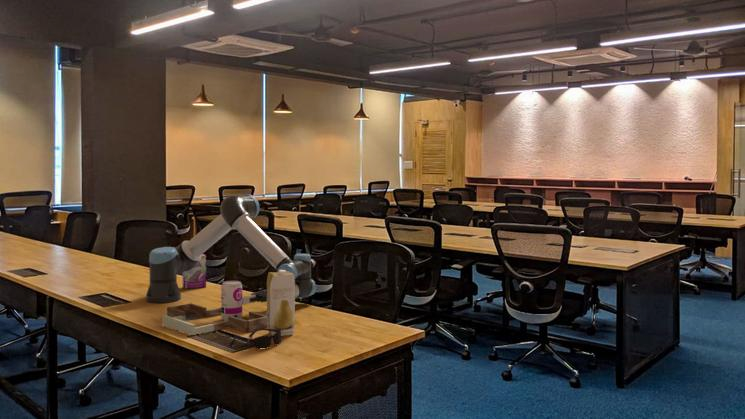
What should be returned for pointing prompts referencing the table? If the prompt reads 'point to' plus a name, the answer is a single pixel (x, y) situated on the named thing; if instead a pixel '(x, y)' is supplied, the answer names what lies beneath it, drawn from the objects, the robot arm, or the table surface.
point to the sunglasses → (263, 338)
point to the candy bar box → (195, 275)
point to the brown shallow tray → (198, 311)
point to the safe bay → (185, 325)
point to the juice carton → (281, 302)
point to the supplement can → (231, 299)
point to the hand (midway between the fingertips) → (241, 300)
